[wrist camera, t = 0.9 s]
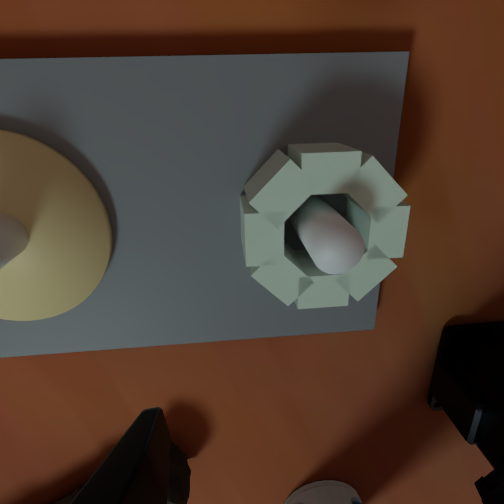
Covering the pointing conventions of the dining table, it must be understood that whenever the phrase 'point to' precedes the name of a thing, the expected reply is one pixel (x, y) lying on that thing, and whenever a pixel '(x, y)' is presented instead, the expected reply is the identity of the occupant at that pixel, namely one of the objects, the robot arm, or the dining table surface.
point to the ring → (357, 214)
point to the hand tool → (176, 479)
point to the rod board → (173, 193)
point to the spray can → (324, 494)
